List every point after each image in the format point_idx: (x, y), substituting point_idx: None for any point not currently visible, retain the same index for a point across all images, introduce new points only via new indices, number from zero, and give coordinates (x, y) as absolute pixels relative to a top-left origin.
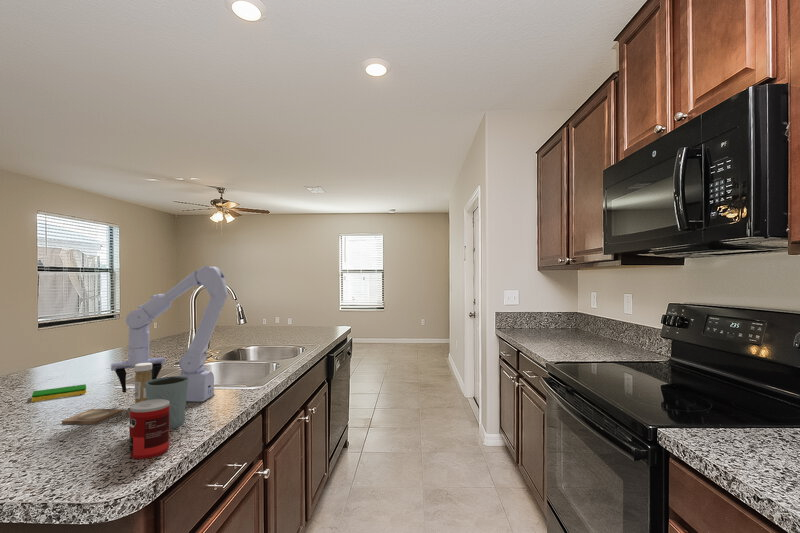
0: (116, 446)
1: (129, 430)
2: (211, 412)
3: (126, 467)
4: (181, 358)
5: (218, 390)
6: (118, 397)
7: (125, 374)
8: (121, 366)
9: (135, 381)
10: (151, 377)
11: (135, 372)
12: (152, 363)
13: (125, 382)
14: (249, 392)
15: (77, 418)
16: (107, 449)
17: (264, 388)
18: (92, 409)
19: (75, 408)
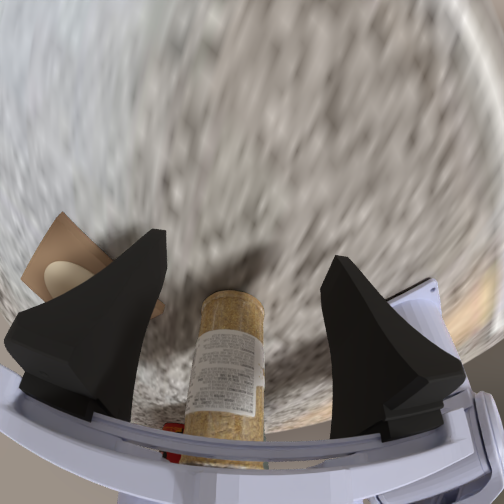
0: (149, 409)
1: (159, 451)
2: (323, 404)
3: (160, 429)
4: (370, 499)
5: (483, 296)
6: (198, 11)
7: (127, 400)
8: (71, 434)
9: (185, 419)
10: (353, 319)
11: (179, 463)
12: (367, 454)
13: (143, 333)
14: (465, 351)
15: (47, 291)
16: (139, 408)
17: (492, 342)
18: (60, 230)
19: (15, 112)
